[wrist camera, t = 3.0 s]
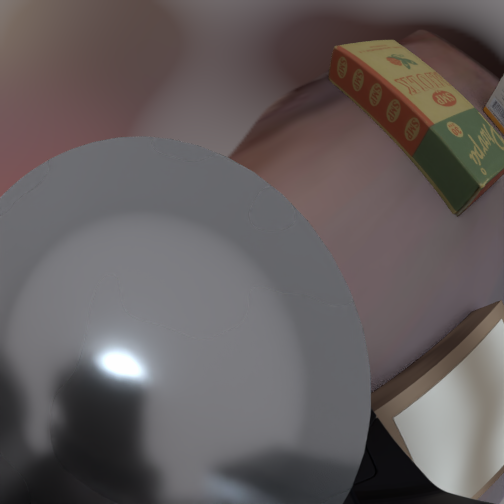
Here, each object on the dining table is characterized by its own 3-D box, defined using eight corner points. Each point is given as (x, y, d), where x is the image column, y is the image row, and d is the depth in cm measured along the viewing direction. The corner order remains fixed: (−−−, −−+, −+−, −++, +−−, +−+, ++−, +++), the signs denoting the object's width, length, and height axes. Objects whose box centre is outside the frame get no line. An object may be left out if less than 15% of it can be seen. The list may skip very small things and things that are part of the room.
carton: (384, 68, 24) (394, 37, 20) (496, 183, 19) (521, 155, 15) (325, 81, 23) (332, 43, 19) (453, 220, 18) (486, 188, 14)
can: (195, 441, 13) (37, 581, 1) (148, 340, 15) (-67, 254, 3) (301, 394, 14) (454, 489, 2) (248, 293, 16) (213, 78, 4)
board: (409, 519, 10) (431, 538, 7) (350, 406, 13) (371, 414, 10) (514, 422, 11) (543, 424, 8) (472, 311, 15) (502, 299, 12)
